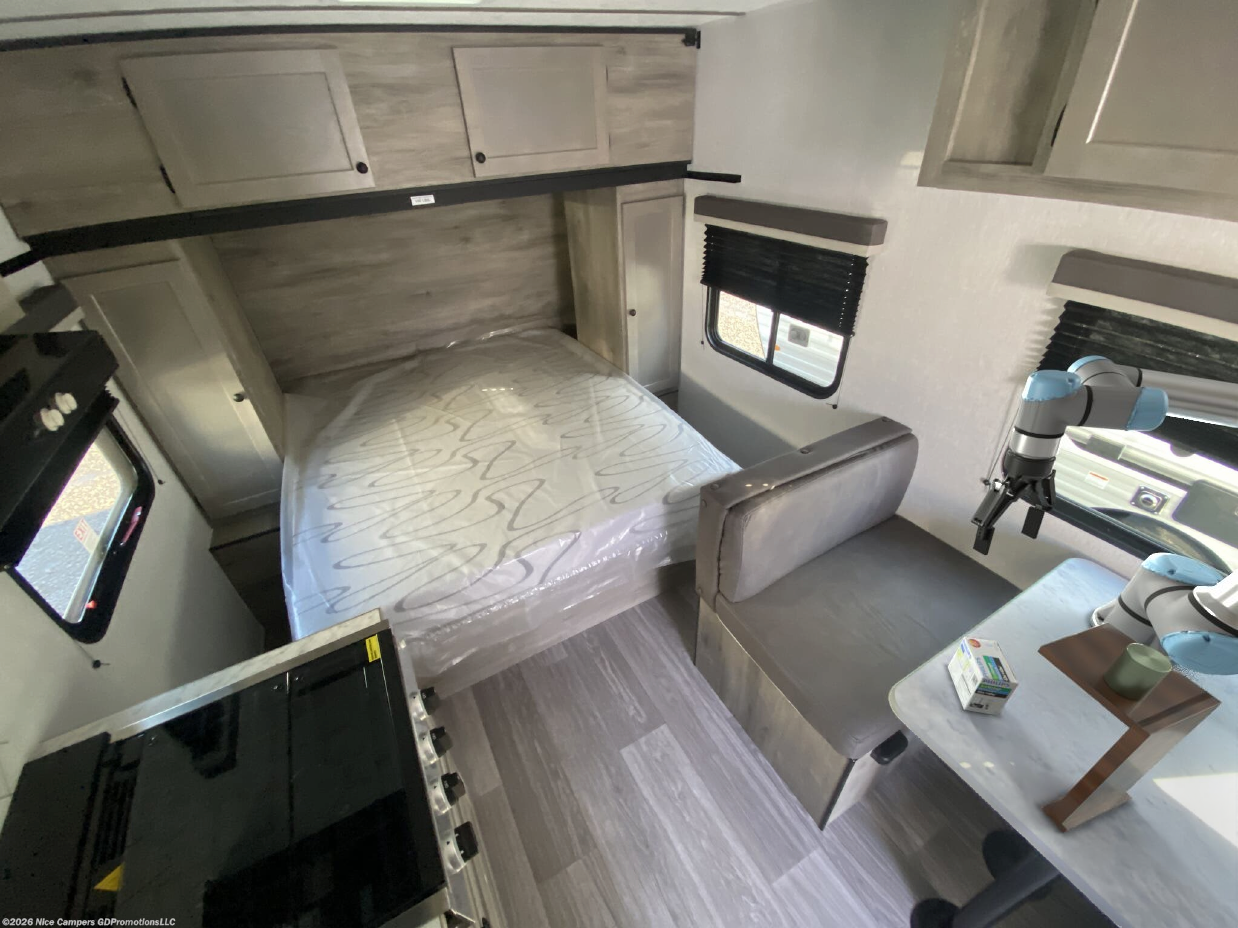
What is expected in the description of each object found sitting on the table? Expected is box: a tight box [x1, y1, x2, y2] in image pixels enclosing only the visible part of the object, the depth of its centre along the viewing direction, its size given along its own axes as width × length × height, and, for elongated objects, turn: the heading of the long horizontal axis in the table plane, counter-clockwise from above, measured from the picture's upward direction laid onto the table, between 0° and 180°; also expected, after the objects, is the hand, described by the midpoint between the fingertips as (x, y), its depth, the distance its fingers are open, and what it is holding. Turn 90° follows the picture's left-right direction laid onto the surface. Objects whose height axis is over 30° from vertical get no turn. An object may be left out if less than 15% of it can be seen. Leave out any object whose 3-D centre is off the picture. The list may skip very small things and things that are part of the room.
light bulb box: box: [947, 636, 1020, 716], centre depth 107 cm, size 11×7×11 cm, turn 169°
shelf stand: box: [1037, 622, 1223, 834], centre depth 86 cm, size 16×17×36 cm
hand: (1004, 543), depth 107 cm, fingers open, 13 cm apart
